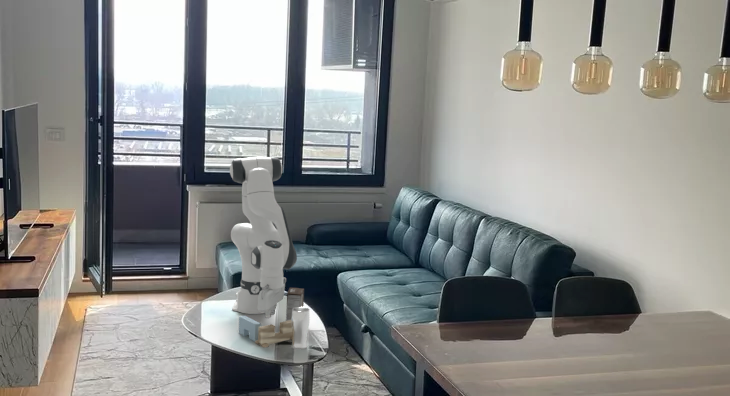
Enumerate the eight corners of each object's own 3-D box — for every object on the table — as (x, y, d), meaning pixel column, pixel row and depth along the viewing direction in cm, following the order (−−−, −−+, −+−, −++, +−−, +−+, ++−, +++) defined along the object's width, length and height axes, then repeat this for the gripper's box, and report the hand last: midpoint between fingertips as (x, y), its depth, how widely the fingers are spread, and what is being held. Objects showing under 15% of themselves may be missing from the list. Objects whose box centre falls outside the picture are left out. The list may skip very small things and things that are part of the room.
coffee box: (288, 324, 295) (289, 287, 292) (303, 324, 294) (304, 288, 292) (285, 330, 286) (286, 292, 283) (300, 331, 285) (302, 293, 283)
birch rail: (255, 343, 269) (255, 325, 268) (288, 335, 280) (289, 318, 279) (264, 347, 265) (264, 330, 264) (297, 339, 276) (298, 322, 275)
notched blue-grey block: (238, 333, 280) (239, 316, 279) (243, 332, 281) (244, 315, 281) (254, 341, 271) (255, 324, 270) (260, 340, 273) (260, 323, 272)
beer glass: (305, 351, 263) (307, 312, 262) (287, 348, 265) (289, 310, 263) (310, 345, 270) (312, 307, 268) (293, 343, 272) (294, 306, 270)
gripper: (269, 289, 262) (268, 324, 264) (287, 277, 282) (286, 310, 283) (254, 287, 263) (252, 322, 265) (273, 275, 283) (271, 308, 285)
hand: (270, 316), depth 274 cm, fingers open, 3 cm apart
